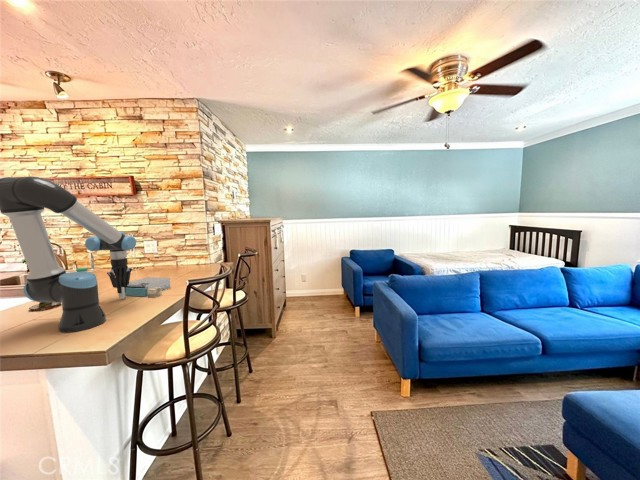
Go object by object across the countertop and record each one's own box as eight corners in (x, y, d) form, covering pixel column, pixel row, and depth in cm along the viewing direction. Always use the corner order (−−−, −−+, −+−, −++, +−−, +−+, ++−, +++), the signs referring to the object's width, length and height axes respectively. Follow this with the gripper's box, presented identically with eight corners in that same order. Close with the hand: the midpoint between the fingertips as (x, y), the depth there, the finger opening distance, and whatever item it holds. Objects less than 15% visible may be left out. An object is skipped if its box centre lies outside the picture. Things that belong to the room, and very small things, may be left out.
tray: (144, 296, 148) (143, 288, 148) (121, 295, 152) (121, 287, 151) (166, 288, 165) (166, 281, 164) (145, 287, 168) (145, 280, 168)
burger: (54, 303, 141) (52, 290, 140) (67, 305, 137) (65, 292, 136) (23, 311, 129) (21, 297, 129) (37, 313, 126) (35, 299, 125)
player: (146, 296, 149) (145, 285, 149) (122, 295, 153) (121, 283, 152) (170, 288, 167) (169, 277, 166) (148, 287, 171) (147, 277, 170)
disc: (152, 288, 157) (152, 286, 157) (136, 290, 151) (136, 288, 151) (149, 285, 162) (149, 283, 162) (134, 288, 157) (134, 285, 157)
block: (155, 297, 146) (154, 289, 146) (148, 297, 147) (147, 289, 147) (162, 295, 151) (161, 287, 151) (155, 294, 152) (154, 287, 152)
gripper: (112, 260, 135) (115, 302, 136) (134, 256, 147) (137, 295, 149) (101, 260, 136) (105, 301, 138) (124, 256, 149) (127, 294, 151)
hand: (122, 298), depth 144 cm, fingers closed
